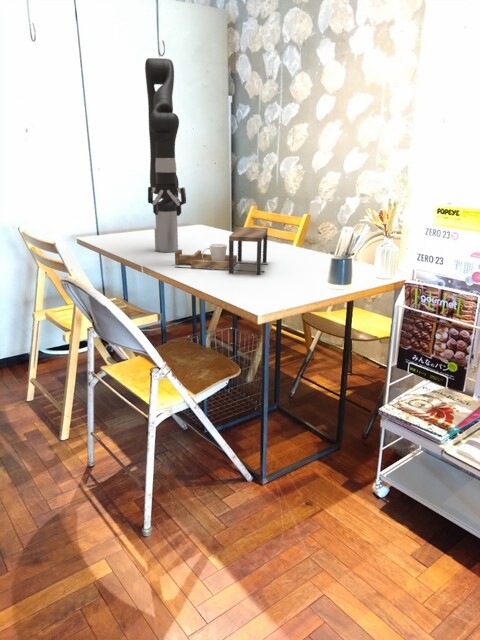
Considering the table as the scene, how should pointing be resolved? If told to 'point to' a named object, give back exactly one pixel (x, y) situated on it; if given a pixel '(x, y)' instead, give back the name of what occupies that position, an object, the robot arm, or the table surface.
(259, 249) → the small wooden stool
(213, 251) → the cup
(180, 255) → the tray
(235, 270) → the rails
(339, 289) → the table surface
